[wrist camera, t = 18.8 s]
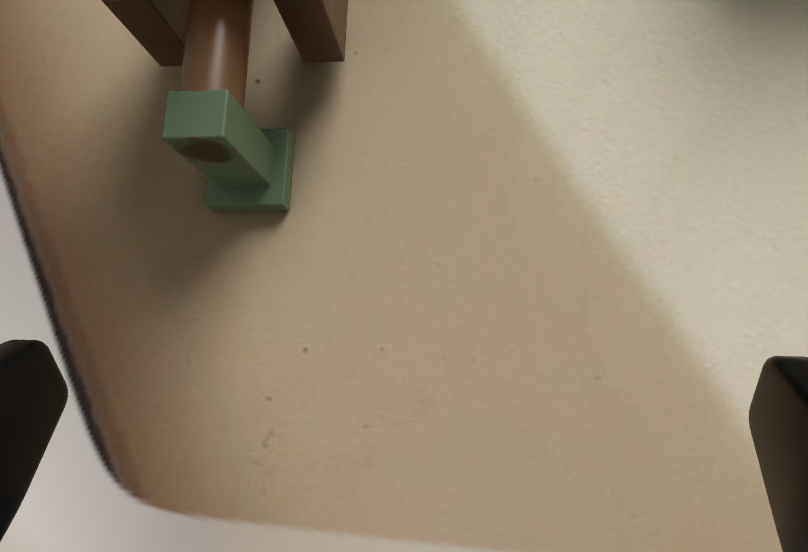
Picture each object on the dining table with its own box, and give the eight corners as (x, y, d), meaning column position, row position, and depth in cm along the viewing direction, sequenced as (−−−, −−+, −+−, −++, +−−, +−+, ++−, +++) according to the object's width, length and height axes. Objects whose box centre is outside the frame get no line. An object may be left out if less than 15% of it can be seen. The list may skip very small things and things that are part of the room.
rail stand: (289, 211, 23) (237, 158, 18) (213, 212, 24) (142, 161, 19) (313, -108, 26) (273, -226, 21) (245, -102, 26) (190, -218, 22)
